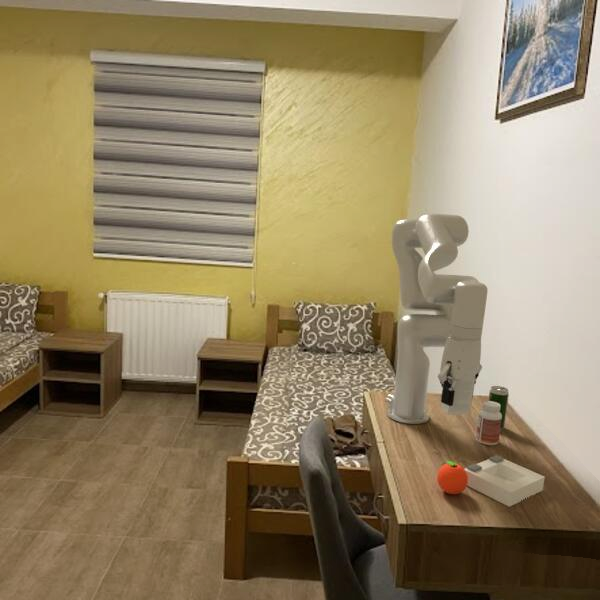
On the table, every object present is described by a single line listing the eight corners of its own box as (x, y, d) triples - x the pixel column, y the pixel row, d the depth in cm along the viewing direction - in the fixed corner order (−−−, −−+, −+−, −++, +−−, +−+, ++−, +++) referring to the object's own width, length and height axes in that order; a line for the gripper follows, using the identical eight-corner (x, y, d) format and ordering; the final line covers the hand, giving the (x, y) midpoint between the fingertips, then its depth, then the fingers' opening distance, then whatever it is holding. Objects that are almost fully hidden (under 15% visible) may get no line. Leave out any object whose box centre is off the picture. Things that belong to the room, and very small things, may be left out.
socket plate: (461, 482, 150) (463, 466, 150) (495, 468, 159) (497, 453, 158) (509, 506, 141) (511, 490, 140) (542, 490, 149) (545, 474, 149)
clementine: (427, 484, 148) (430, 456, 147) (452, 481, 151) (455, 453, 149) (446, 501, 141) (450, 472, 140) (472, 498, 143) (476, 469, 142)
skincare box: (462, 408, 159) (468, 363, 157) (470, 414, 155) (476, 368, 153) (440, 408, 158) (446, 362, 156) (447, 415, 154) (453, 368, 151)
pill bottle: (503, 443, 175) (508, 406, 173) (488, 447, 172) (493, 409, 170) (485, 435, 180) (490, 398, 178) (470, 438, 177) (475, 401, 175)
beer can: (490, 431, 183) (496, 392, 181) (481, 423, 189) (486, 385, 186) (507, 430, 185) (512, 391, 182) (497, 423, 190) (503, 385, 187)
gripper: (474, 324, 161) (465, 390, 164) (430, 332, 150) (422, 402, 153) (499, 332, 155) (490, 400, 159) (456, 340, 144) (446, 413, 148)
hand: (456, 400), depth 156 cm, fingers closed on skincare box, 7 cm apart
